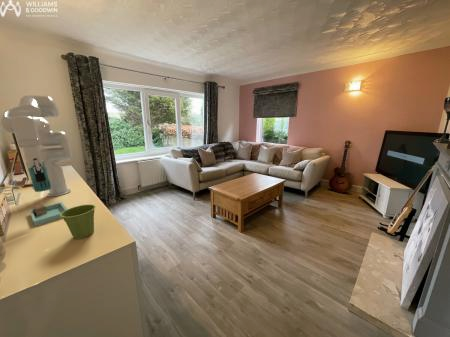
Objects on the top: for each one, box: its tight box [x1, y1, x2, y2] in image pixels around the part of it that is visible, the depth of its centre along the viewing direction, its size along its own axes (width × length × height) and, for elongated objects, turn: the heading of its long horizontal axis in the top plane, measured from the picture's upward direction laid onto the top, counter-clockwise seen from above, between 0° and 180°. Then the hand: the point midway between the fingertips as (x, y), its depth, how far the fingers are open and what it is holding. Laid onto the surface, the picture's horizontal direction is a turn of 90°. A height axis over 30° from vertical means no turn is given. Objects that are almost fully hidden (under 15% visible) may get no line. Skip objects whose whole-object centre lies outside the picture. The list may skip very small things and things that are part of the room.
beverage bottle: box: [25, 160, 52, 193], centre depth 92 cm, size 6×7×20 cm
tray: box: [29, 201, 68, 227], centre depth 99 cm, size 19×13×3 cm
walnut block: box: [32, 204, 47, 216], centre depth 100 cm, size 4×4×4 cm
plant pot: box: [60, 204, 97, 240], centre depth 80 cm, size 12×12×11 cm
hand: (40, 179), depth 93 cm, fingers closed on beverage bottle, 6 cm apart
